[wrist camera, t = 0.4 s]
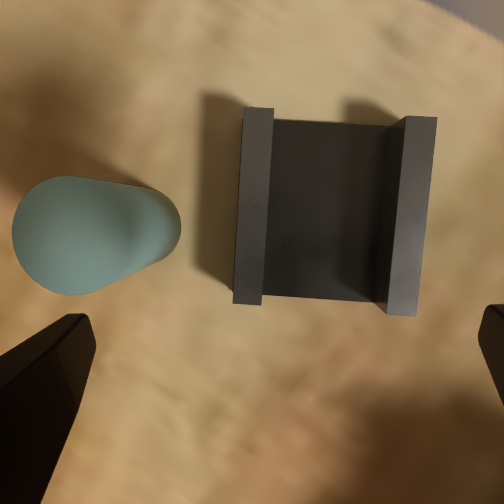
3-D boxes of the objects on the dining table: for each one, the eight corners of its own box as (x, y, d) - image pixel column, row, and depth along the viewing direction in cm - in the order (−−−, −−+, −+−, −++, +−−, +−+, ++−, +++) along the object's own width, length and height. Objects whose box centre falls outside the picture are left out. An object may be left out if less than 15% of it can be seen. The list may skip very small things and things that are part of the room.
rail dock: (402, 303, 24) (420, 316, 21) (233, 291, 25) (227, 303, 22) (420, 129, 23) (442, 117, 20) (243, 119, 23) (239, 106, 20)
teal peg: (145, 279, 25) (74, 319, 16) (90, 226, 24) (-12, 236, 16) (196, 225, 24) (154, 235, 15) (141, 171, 24) (65, 149, 15)
